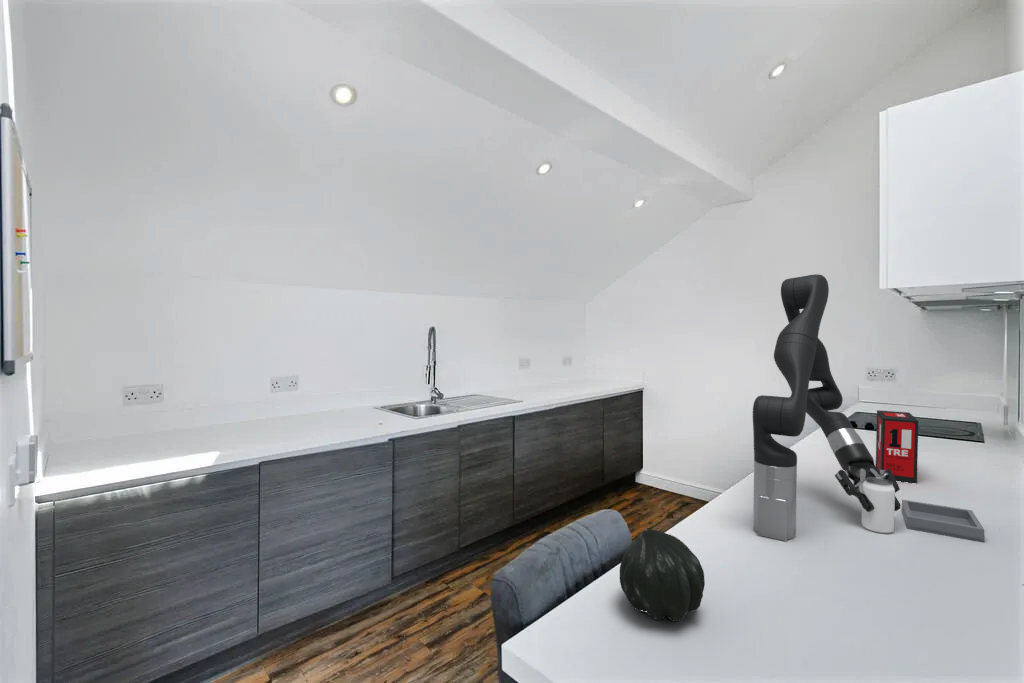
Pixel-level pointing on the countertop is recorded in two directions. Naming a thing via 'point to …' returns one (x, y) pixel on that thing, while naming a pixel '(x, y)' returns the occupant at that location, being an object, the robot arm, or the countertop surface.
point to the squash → (661, 576)
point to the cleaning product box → (897, 444)
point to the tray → (942, 520)
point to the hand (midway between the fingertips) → (884, 509)
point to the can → (879, 505)
